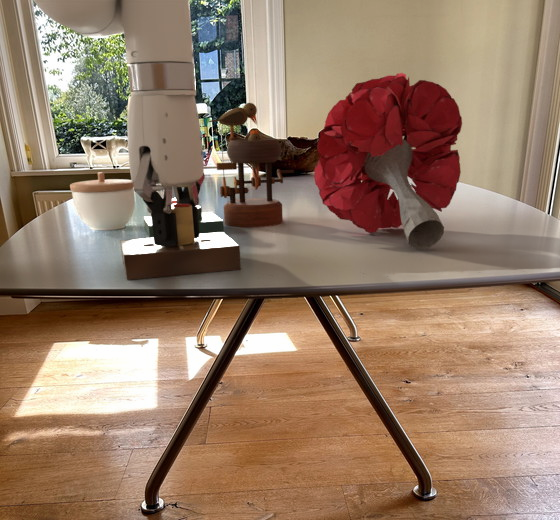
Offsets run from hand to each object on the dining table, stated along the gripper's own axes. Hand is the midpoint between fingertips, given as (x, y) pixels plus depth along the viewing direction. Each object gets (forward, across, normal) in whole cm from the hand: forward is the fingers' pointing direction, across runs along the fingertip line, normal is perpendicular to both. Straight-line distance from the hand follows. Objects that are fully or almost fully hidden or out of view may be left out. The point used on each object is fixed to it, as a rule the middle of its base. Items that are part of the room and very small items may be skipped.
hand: (177, 239), depth 76 cm
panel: (+3, 0, 0) cm, 3 cm away
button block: (+3, -22, -13) cm, 26 cm away
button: (0, -22, -13) cm, 25 cm away
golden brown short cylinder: (0, 0, 0) cm, 0 cm away
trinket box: (+4, -22, -28) cm, 36 cm away
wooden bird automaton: (+4, -34, -4) cm, 34 cm away
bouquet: (+4, -28, +21) cm, 35 cm away
